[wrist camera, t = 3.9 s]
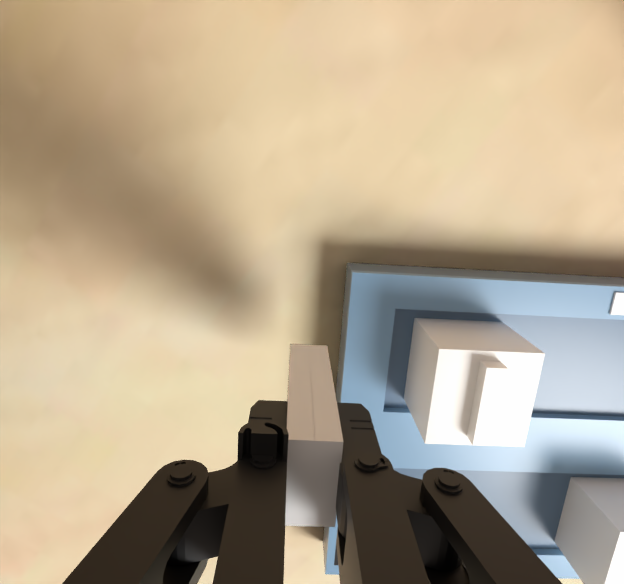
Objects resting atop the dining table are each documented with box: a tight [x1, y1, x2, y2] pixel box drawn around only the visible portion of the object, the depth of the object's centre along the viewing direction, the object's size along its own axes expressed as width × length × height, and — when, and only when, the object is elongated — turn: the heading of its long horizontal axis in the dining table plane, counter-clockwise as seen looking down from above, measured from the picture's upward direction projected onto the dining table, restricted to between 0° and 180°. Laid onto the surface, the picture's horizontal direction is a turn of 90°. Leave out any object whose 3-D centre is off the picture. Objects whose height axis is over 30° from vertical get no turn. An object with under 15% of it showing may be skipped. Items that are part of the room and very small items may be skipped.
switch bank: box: [323, 263, 624, 579], centre depth 22 cm, size 20×16×2 cm
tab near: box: [404, 318, 545, 447], centre depth 18 cm, size 4×4×4 cm
